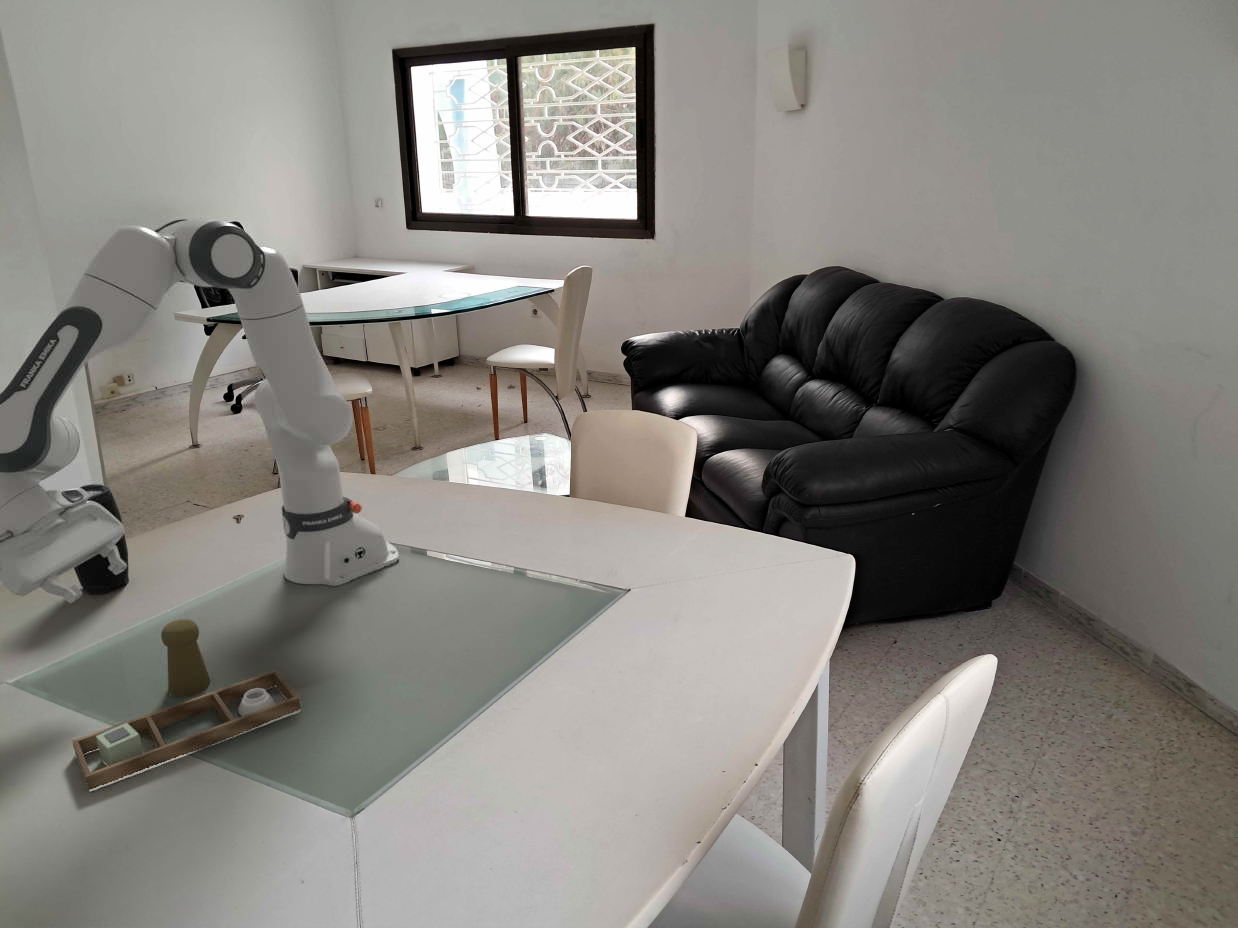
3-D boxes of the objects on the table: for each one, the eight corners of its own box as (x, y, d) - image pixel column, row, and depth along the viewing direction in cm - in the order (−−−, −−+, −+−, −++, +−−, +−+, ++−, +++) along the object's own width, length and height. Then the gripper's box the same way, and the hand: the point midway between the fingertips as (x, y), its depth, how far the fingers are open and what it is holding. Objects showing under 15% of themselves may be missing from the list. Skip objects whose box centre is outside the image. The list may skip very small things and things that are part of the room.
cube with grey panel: (131, 746, 123) (126, 721, 122) (144, 758, 121) (138, 733, 119) (101, 760, 120) (95, 735, 119) (113, 773, 118) (107, 747, 116)
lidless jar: (281, 709, 132) (263, 696, 135) (279, 692, 131) (261, 680, 134) (250, 724, 128) (232, 711, 131) (247, 707, 127) (230, 694, 130)
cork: (194, 698, 134) (182, 635, 130) (159, 694, 135) (147, 631, 131) (218, 677, 139) (208, 616, 136) (185, 672, 140) (174, 612, 137)
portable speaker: (138, 585, 169) (120, 491, 162) (84, 601, 163) (62, 504, 156) (126, 570, 175) (108, 479, 168) (73, 585, 169) (52, 491, 162)
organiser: (278, 683, 138) (276, 669, 137) (301, 711, 131) (299, 697, 130) (75, 755, 121) (72, 740, 120) (89, 792, 114) (85, 776, 113)
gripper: (-19, 535, 121) (57, 604, 123) (90, 484, 140) (155, 545, 142) (-39, 562, 123) (36, 629, 125) (71, 508, 142) (135, 567, 144)
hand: (100, 584), depth 134 cm, fingers open, 8 cm apart
